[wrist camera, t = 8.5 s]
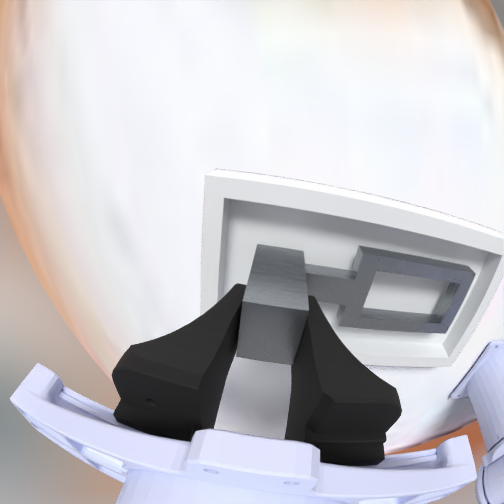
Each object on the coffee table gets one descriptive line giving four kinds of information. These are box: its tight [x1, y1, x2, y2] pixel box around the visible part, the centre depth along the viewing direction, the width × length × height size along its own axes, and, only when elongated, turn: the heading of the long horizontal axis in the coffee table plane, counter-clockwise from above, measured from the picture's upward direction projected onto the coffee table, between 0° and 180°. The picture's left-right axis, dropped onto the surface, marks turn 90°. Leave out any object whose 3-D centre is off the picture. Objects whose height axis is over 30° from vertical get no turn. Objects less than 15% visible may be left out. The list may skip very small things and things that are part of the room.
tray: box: [201, 169, 504, 367], centre depth 15 cm, size 19×10×2 cm, turn 83°
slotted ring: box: [236, 244, 476, 365], centre depth 12 cm, size 13×5×5 cm, turn 83°
